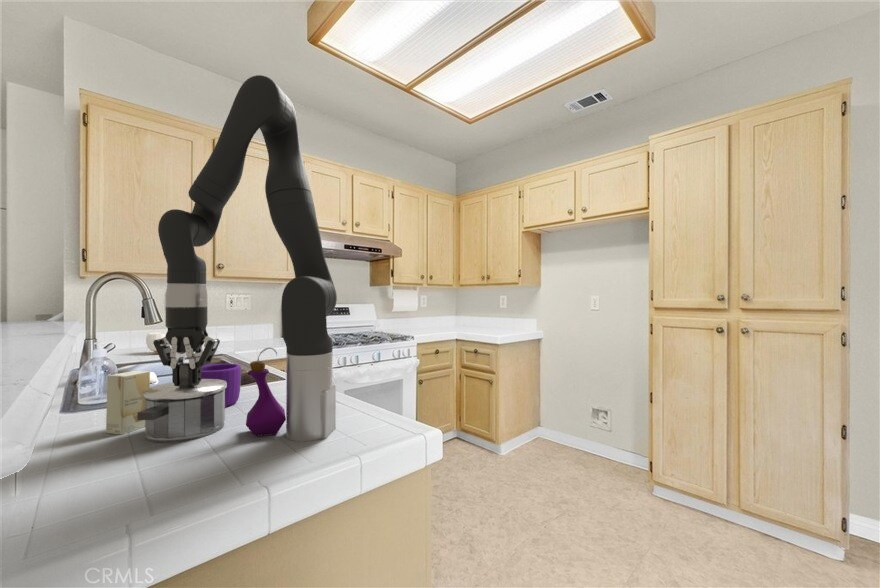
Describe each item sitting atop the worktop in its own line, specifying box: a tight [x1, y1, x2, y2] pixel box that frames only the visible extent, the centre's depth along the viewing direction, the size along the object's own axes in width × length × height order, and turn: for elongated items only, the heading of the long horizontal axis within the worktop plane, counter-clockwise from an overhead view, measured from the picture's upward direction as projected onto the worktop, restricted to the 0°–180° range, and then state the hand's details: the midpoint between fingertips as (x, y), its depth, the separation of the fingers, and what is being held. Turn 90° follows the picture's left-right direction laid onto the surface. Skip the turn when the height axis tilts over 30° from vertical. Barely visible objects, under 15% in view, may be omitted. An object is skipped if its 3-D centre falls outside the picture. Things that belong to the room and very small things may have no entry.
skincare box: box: [105, 370, 151, 435], centre depth 82 cm, size 6×4×12 cm
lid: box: [142, 362, 227, 401], centre depth 81 cm, size 15×15×7 cm
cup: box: [145, 331, 172, 354], centre depth 192 cm, size 12×12×10 cm
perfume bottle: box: [245, 346, 286, 437], centre depth 81 cm, size 8×8×18 cm
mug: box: [201, 363, 242, 408], centre depth 103 cm, size 17×11×10 cm, turn 44°
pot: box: [137, 389, 226, 444], centre depth 81 cm, size 14×22×8 cm, turn 177°
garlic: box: [149, 371, 159, 386], centre depth 124 cm, size 8×7×4 cm
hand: (186, 385), depth 81 cm, fingers closed on lid, 2 cm apart
